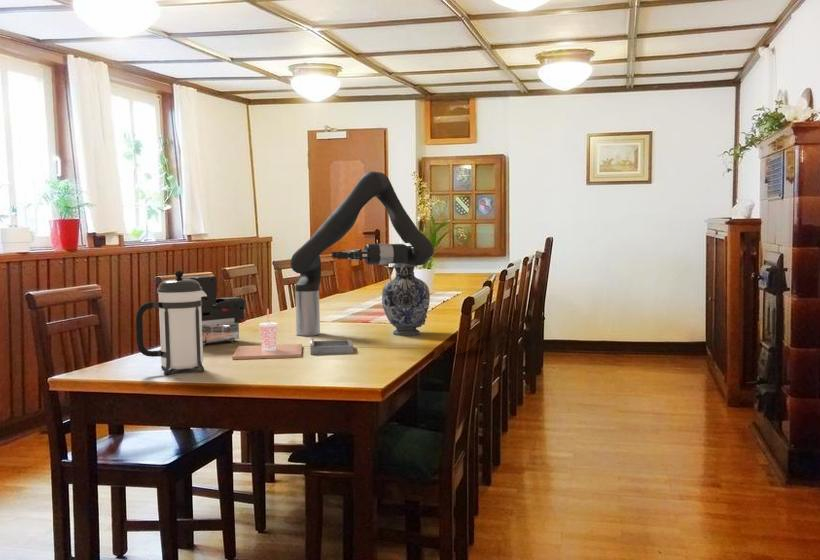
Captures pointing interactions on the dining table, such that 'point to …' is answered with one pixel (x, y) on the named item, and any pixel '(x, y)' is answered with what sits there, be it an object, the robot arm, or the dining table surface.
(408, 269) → the decorative vase
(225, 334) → the bill acceptor
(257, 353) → the terracotta tile
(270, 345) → the beverage cup
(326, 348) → the square metal frame
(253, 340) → the dining table surface
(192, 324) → the coffee press
